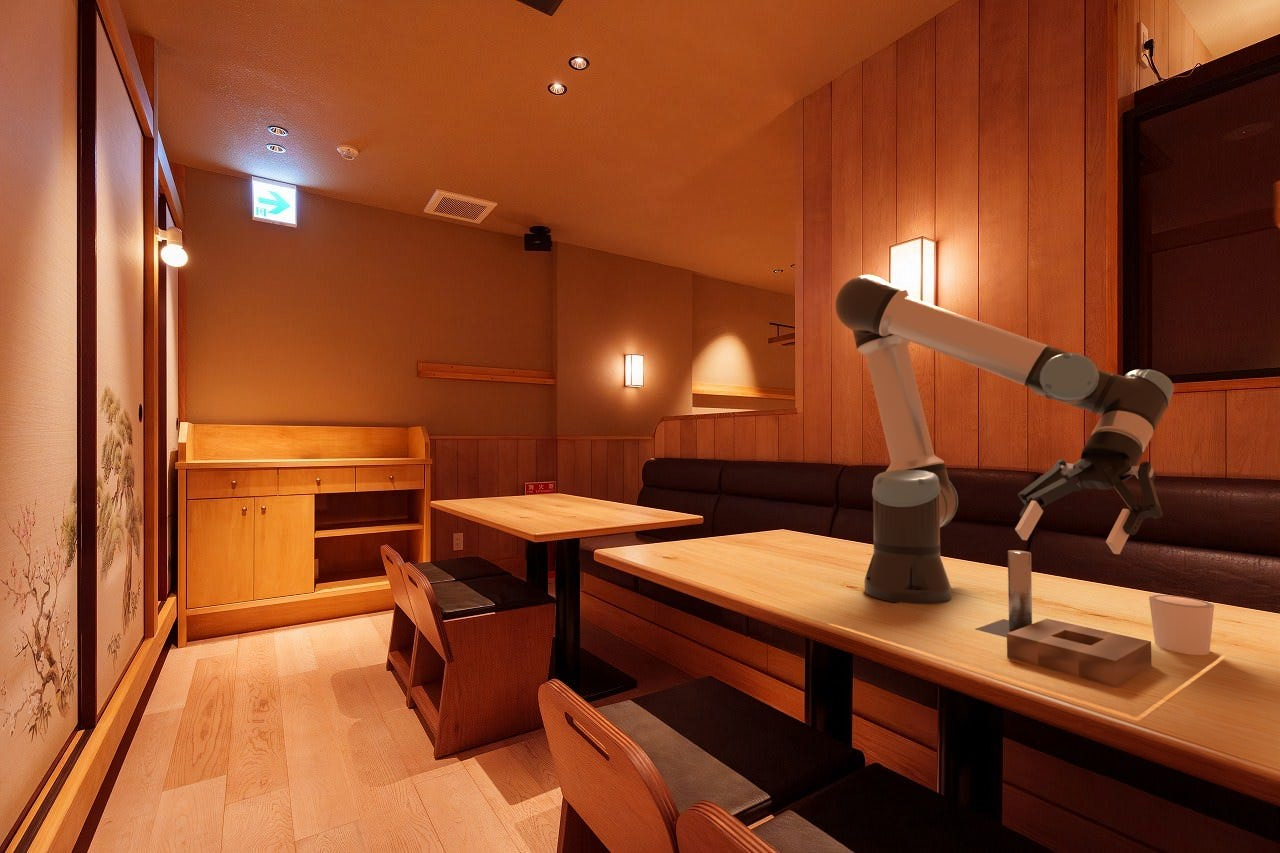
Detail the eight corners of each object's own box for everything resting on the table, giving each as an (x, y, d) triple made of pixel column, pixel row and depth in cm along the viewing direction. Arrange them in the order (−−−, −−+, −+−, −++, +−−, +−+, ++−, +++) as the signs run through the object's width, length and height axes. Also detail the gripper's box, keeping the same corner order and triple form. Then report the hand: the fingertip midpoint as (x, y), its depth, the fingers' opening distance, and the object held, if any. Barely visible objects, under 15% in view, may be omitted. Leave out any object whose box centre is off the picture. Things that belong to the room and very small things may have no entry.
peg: (1005, 630, 91) (1004, 551, 92) (1014, 627, 93) (1013, 549, 93) (1026, 635, 89) (1025, 554, 89) (1035, 632, 90) (1034, 552, 91)
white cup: (1193, 661, 80) (1191, 608, 80) (1137, 644, 86) (1136, 596, 86) (1228, 656, 81) (1227, 604, 82) (1171, 640, 88) (1170, 592, 88)
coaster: (975, 631, 92) (975, 628, 92) (1003, 621, 97) (1003, 619, 97) (1040, 648, 85) (1040, 645, 85) (1067, 636, 90) (1067, 633, 90)
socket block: (1007, 659, 80) (1006, 633, 80) (1047, 642, 87) (1046, 618, 87) (1116, 690, 70) (1115, 660, 70) (1151, 668, 77) (1151, 641, 77)
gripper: (1220, 462, 91) (1169, 571, 84) (1049, 457, 113) (999, 544, 107) (1201, 427, 88) (1147, 537, 82) (1031, 430, 111) (978, 516, 105)
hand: (1063, 541), depth 94 cm, fingers open, 13 cm apart
